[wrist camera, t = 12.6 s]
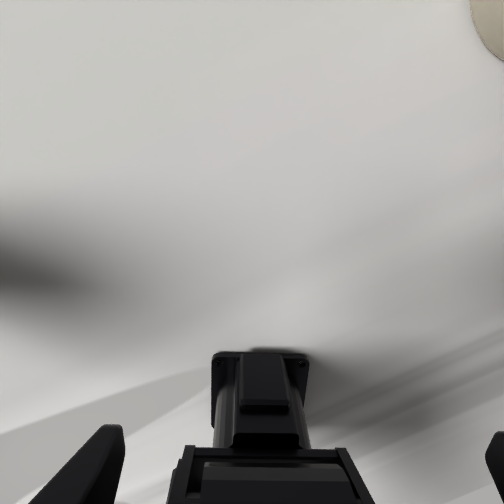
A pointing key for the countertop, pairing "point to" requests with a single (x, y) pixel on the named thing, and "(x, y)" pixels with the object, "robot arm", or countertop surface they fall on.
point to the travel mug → (490, 24)
